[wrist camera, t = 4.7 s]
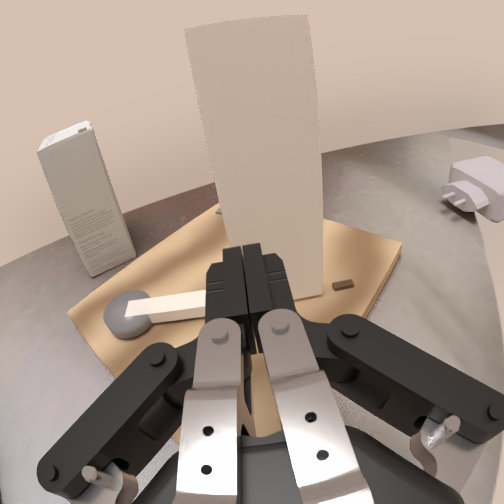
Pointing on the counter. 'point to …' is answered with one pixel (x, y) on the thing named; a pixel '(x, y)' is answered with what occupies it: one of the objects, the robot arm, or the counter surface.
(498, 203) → the charger
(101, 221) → the skincare box
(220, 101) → the key
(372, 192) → the counter surface
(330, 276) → the dial board
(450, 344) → the counter surface
